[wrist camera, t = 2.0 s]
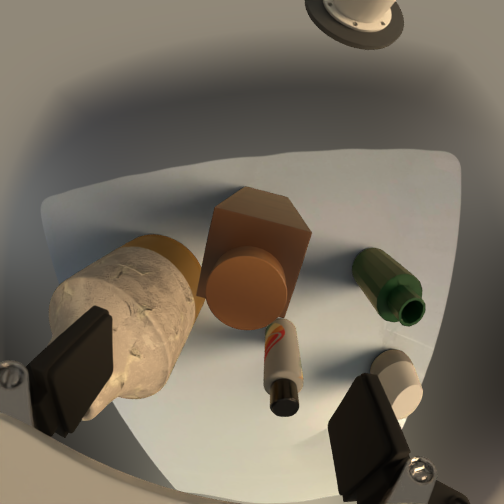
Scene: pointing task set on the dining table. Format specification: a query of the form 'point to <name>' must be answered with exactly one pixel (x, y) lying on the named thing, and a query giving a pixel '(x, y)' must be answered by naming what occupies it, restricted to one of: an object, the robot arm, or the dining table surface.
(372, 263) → the green bottle
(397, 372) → the smart speaker
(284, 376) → the lotion bottle
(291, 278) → the brown block
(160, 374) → the vase
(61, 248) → the dining table surface
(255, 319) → the cork stopper
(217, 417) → the dining table surface
